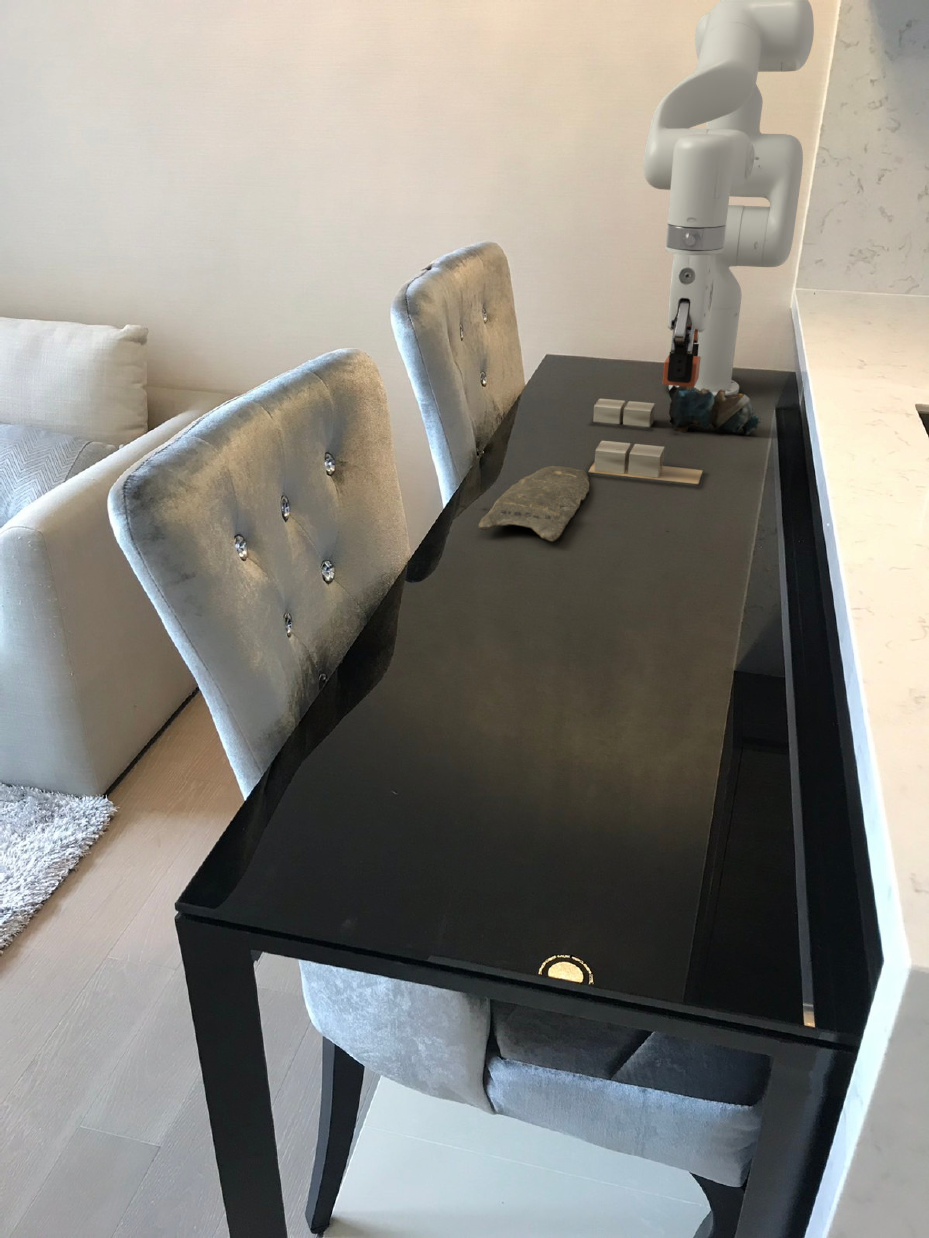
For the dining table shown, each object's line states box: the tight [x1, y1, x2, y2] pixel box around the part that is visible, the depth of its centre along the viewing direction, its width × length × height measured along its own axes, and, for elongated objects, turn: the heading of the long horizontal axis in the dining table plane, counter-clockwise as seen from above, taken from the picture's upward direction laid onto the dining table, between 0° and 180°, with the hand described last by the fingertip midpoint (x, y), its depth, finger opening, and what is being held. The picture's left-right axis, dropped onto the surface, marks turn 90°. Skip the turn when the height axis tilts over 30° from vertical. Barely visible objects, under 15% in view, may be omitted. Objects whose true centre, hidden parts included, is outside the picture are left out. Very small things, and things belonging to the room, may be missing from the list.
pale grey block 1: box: [594, 440, 632, 474], centre depth 148 cm, size 4×4×3 cm
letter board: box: [588, 461, 704, 485], centre depth 147 cm, size 6×16×1 cm, turn 71°
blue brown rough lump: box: [668, 385, 762, 436], centre depth 161 cm, size 9×8×15 cm
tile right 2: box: [628, 443, 666, 478], centre depth 146 cm, size 4×4×3 cm
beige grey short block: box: [592, 398, 626, 425], centre depth 168 cm, size 4×4×3 cm
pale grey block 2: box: [622, 400, 656, 428], centre depth 166 cm, size 4×4×3 cm
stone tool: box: [478, 465, 590, 542], centre depth 136 cm, size 11×3×25 cm
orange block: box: [662, 355, 701, 387], centre depth 140 cm, size 4×4×3 cm
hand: (681, 375), depth 140 cm, fingers closed on orange block, 4 cm apart
